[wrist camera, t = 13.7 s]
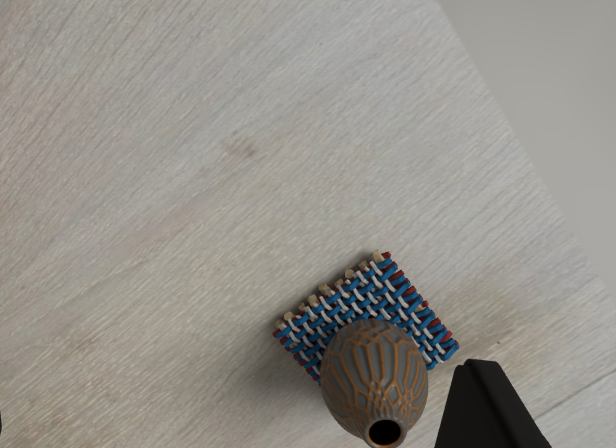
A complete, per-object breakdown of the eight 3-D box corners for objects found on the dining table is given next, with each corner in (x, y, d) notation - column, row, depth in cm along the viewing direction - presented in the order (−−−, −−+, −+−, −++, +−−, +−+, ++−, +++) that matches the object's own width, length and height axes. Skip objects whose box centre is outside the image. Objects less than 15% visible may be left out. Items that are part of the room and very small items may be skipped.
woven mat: (266, 321, 37) (263, 335, 35) (381, 240, 35) (385, 250, 33) (348, 411, 40) (350, 429, 38) (460, 341, 38) (468, 356, 36)
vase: (370, 284, 34) (390, 358, 26) (434, 347, 36) (473, 435, 27) (298, 345, 35) (296, 433, 27) (363, 402, 37) (379, 502, 29)
